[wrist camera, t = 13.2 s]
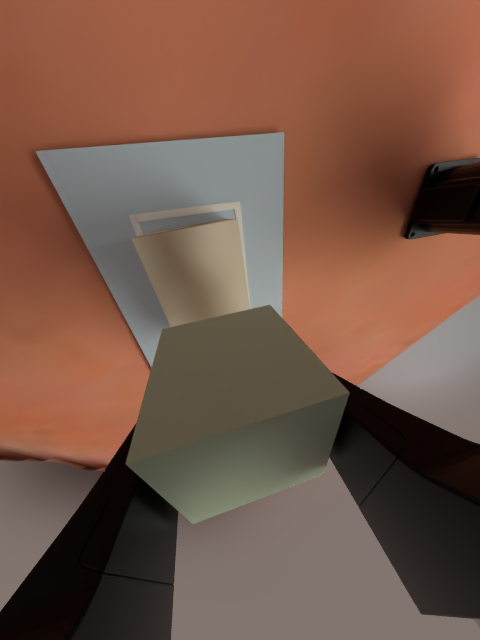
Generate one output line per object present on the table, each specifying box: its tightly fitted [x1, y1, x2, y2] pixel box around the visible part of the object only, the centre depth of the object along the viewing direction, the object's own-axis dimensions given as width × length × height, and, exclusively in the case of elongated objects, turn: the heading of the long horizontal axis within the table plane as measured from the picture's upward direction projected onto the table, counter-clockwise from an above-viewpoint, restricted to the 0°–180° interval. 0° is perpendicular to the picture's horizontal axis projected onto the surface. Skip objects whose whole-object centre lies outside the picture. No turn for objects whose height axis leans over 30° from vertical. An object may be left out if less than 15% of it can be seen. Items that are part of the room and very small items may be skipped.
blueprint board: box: [35, 132, 284, 368], centre depth 17 cm, size 16×20×1 cm
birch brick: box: [132, 219, 250, 327], centre depth 15 cm, size 6×10×5 cm, turn 9°
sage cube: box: [126, 305, 350, 524], centre depth 7 cm, size 5×5×5 cm
